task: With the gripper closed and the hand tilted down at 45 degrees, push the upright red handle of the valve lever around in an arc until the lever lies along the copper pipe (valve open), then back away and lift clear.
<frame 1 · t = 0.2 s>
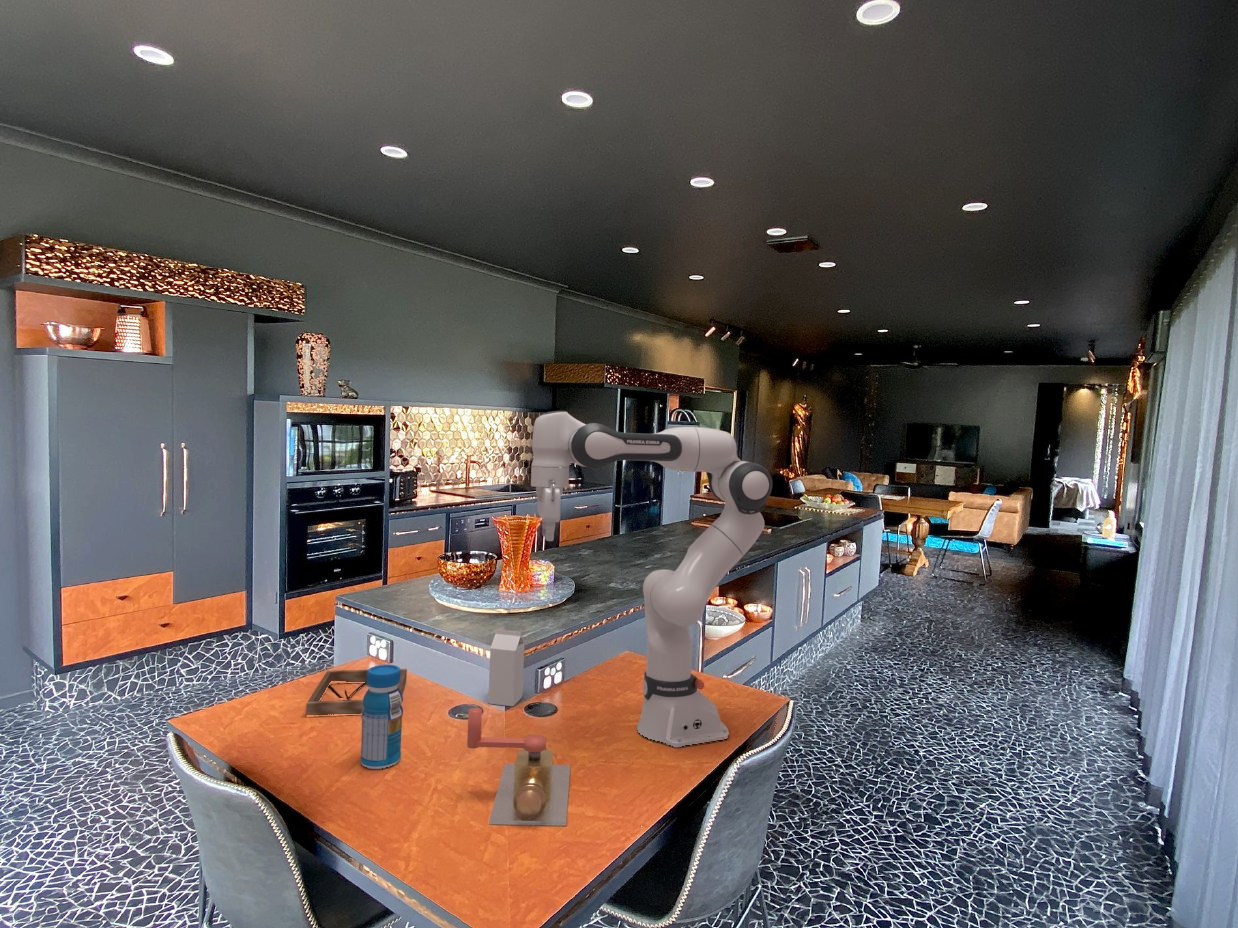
hand: (547, 538, 159), 47 cm above the table, tool pointing down, fingers open, 8 cm apart
glasses tray: (360, 697, 180), on the table
lever: (507, 728, 134), point 13 cm above the table, hinge at 0.0°
milk carton: (505, 701, 182), on the table
valve body: (532, 794, 134), on the table
beverage bottle: (380, 762, 145), on the table
sunglasses: (360, 699, 181), resting in glasses tray
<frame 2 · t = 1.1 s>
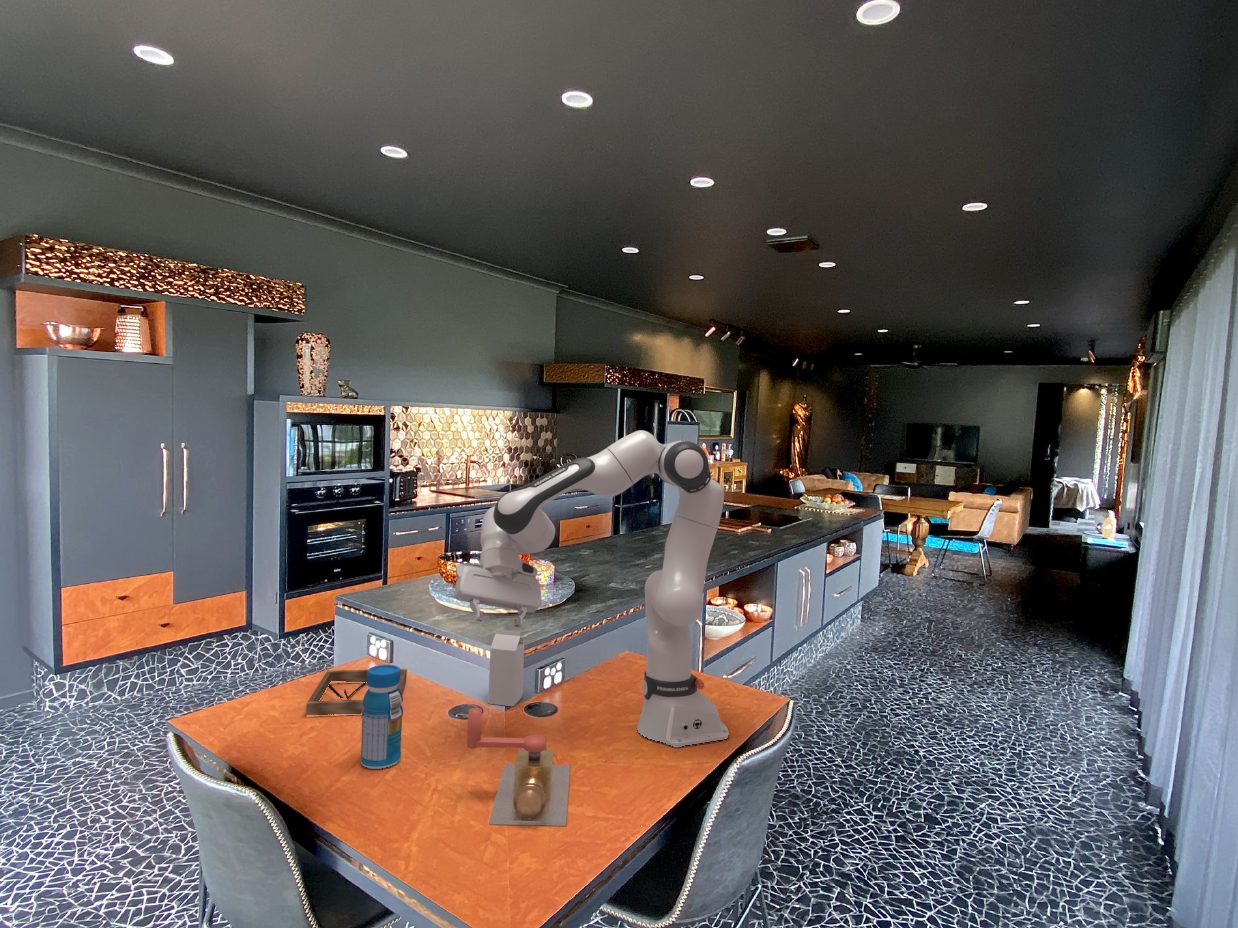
hand: (498, 623, 151), 29 cm above the table, tool tilted 40°, fingers open, 8 cm apart
sunglasses: (360, 698, 181), resting in glasses tray
everything else where it was.
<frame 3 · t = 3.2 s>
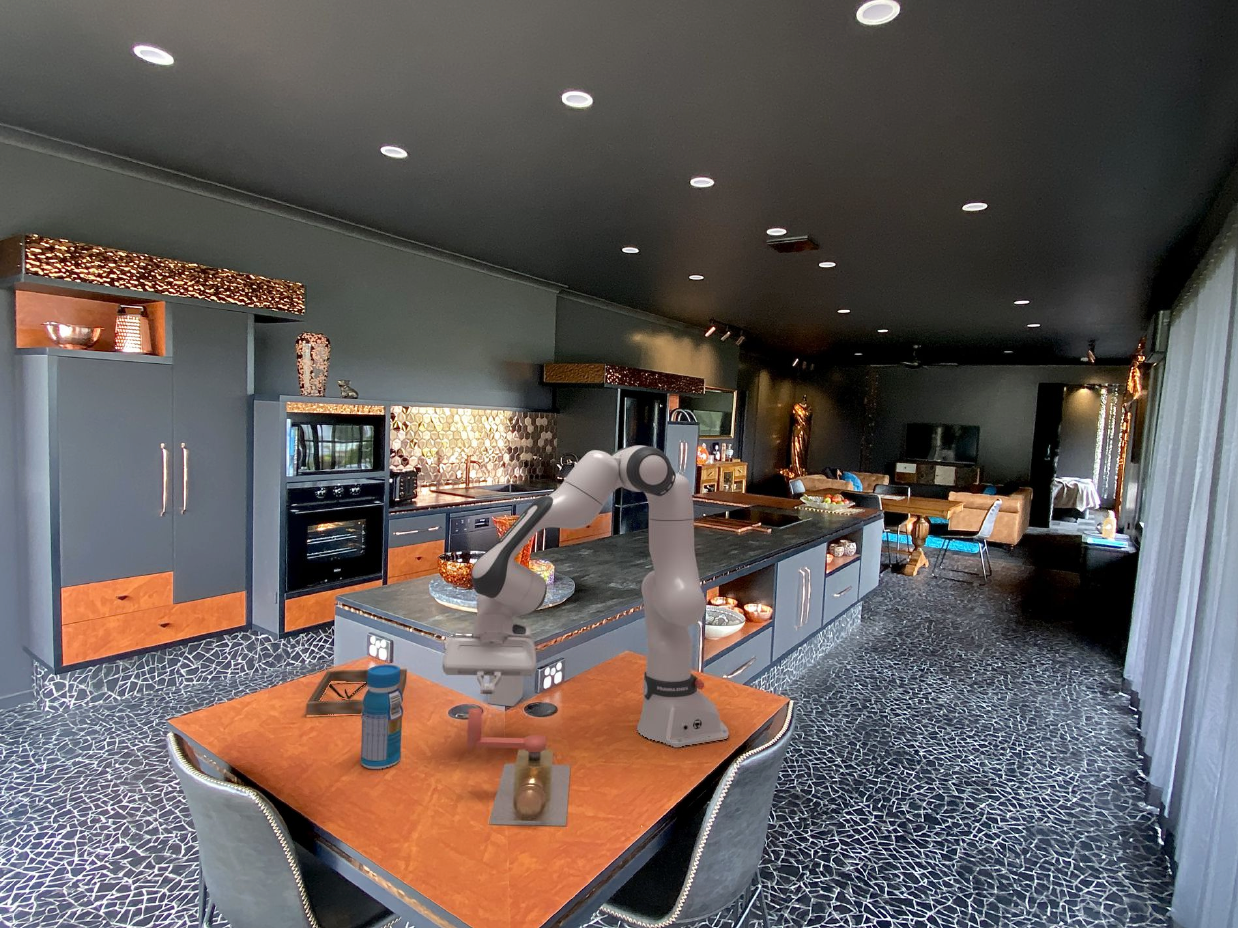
hand: (487, 692, 144), 16 cm above the table, tool tilted 45°, fingers closed
nothing on the table moved.
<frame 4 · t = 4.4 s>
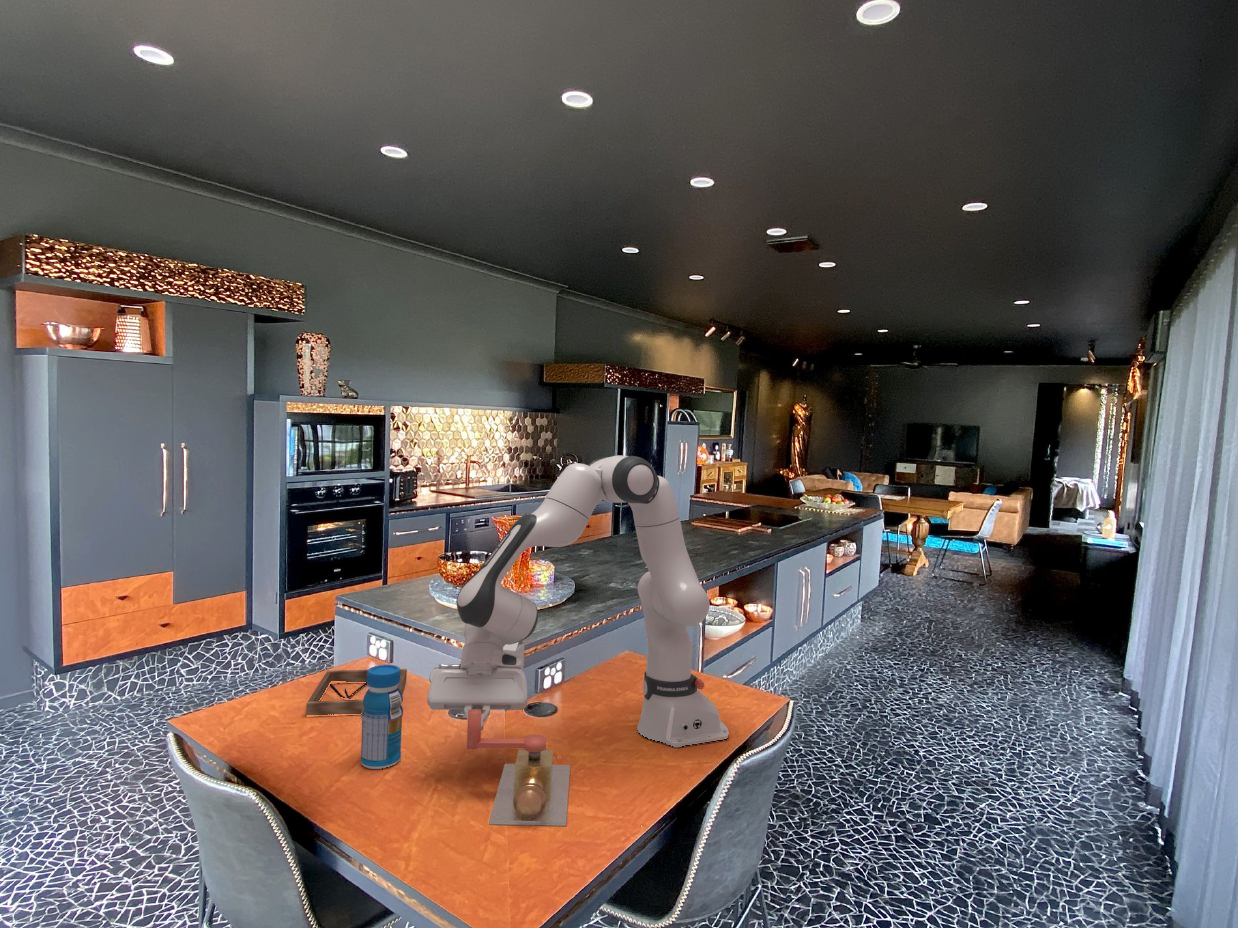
hand: (475, 729, 135), 12 cm above the table, tool tilted 45°, fingers closed, pressing on lever
lever: (507, 729, 133), point 13 cm above the table, hinge at 2.8°, touching gripper
everything else where it was.
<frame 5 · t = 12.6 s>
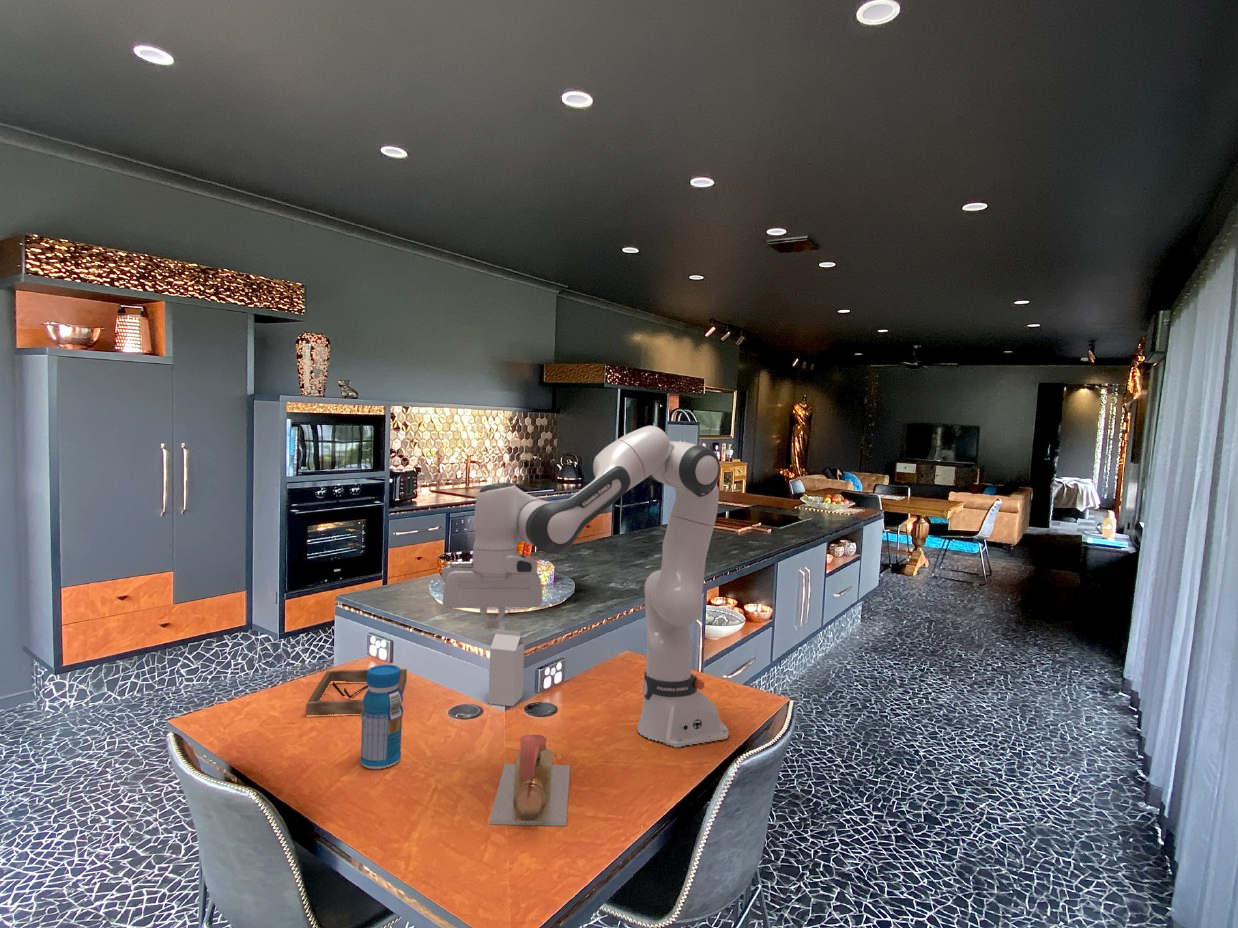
hand: (491, 628, 139), 31 cm above the table, tool pointing down, fingers closed
lever: (531, 741, 128), point 13 cm above the table, hinge at 87.7°
at the end: lever at +88° (first picture: +0°) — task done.
